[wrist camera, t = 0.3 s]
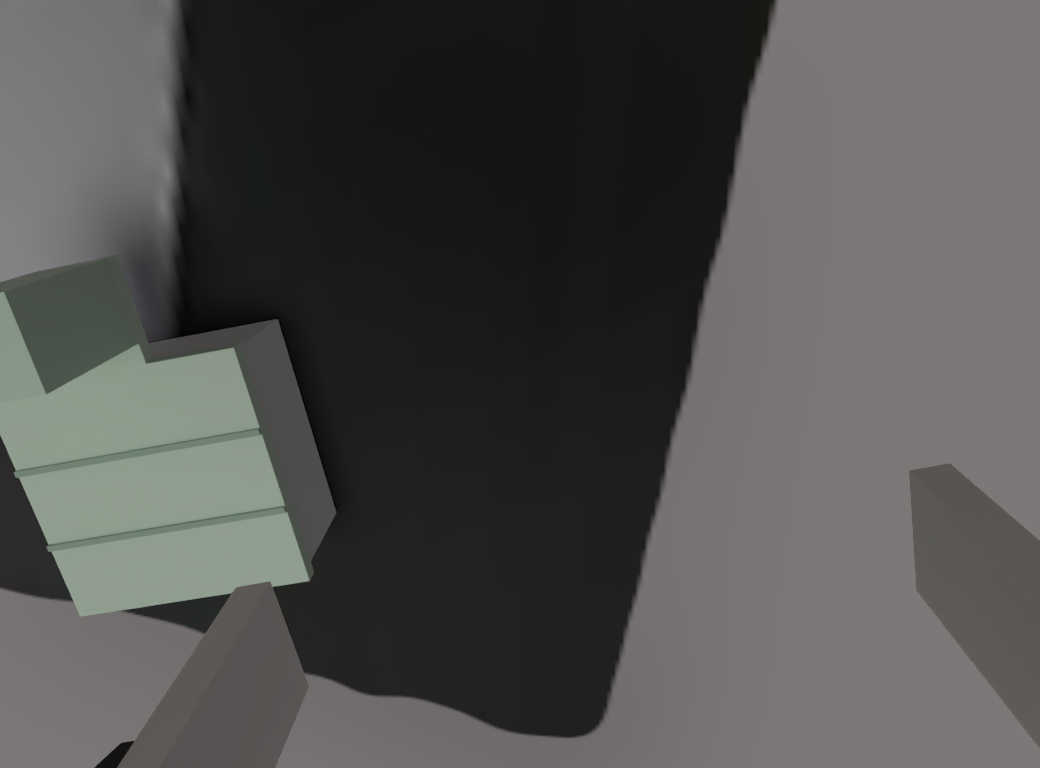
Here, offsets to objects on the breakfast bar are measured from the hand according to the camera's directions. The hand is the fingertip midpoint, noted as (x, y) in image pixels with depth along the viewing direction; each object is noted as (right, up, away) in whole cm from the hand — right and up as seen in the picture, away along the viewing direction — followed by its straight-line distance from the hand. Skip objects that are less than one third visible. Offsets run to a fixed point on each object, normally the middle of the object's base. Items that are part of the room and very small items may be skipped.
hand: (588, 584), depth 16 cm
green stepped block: (-20, +1, +22) cm, 30 cm away
